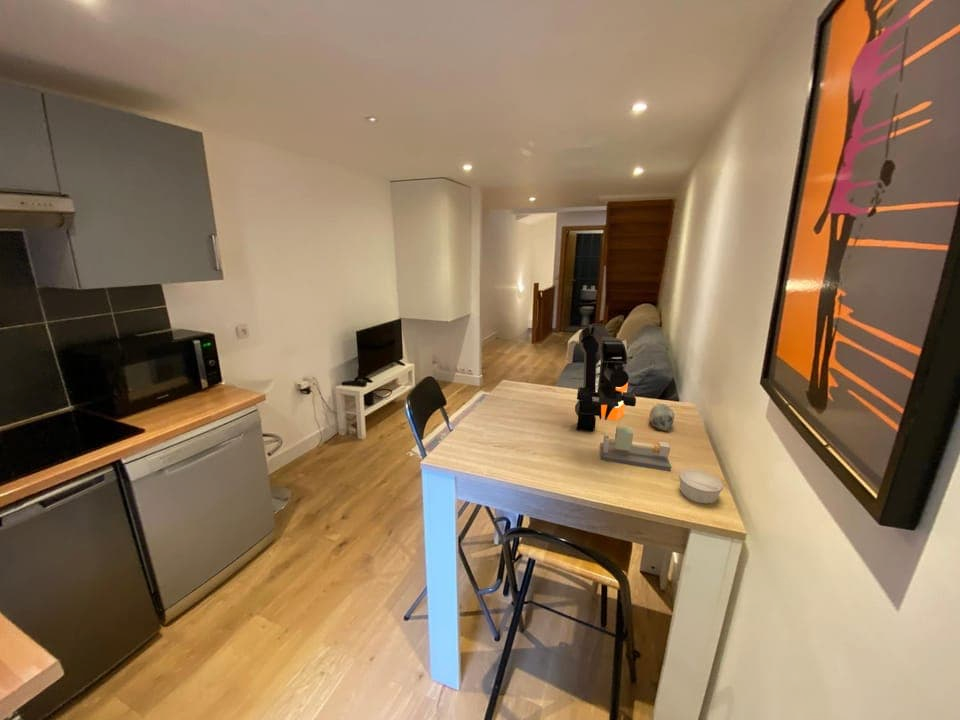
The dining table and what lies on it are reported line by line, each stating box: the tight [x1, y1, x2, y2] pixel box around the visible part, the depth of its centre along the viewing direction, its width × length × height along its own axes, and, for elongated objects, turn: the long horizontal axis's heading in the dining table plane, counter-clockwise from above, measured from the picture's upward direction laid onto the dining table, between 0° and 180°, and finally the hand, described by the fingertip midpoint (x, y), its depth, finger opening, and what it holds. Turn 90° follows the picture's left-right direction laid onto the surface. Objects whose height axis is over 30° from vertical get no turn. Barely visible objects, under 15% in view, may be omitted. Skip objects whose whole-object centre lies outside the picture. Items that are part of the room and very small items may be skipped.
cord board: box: [599, 433, 672, 472], centre depth 130 cm, size 22×10×7 cm, turn 74°
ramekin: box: [679, 468, 724, 505], centre depth 112 cm, size 11×11×5 cm
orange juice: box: [601, 382, 629, 422], centre depth 162 cm, size 8×9×20 cm
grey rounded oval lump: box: [648, 403, 675, 432], centre depth 155 cm, size 14×10×10 cm
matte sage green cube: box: [614, 425, 634, 451], centre depth 130 cm, size 5×5×6 cm
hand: (602, 419), depth 130 cm, fingers closed
